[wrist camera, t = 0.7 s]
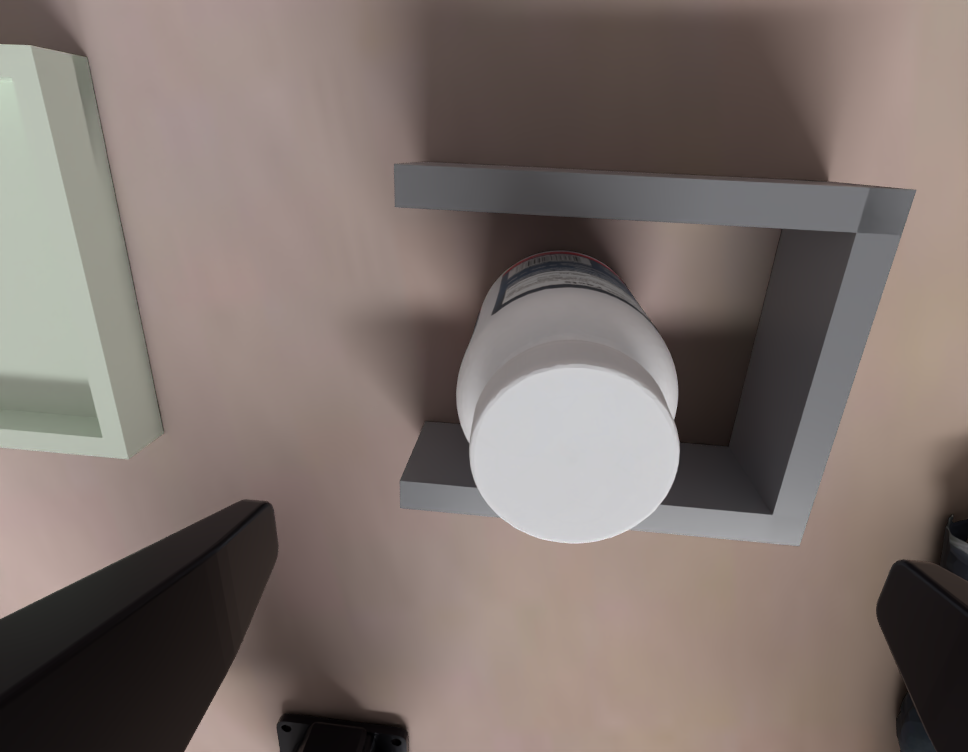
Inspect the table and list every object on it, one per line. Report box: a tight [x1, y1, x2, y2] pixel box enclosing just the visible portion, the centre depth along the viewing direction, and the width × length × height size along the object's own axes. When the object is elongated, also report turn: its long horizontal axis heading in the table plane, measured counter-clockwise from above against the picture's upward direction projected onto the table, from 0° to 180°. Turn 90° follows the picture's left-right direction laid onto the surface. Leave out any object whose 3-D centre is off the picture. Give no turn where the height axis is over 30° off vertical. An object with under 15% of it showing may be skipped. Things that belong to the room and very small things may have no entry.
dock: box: [394, 162, 916, 546], centre depth 16 cm, size 10×12×4 cm
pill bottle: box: [456, 250, 680, 543], centre depth 14 cm, size 5×5×9 cm
